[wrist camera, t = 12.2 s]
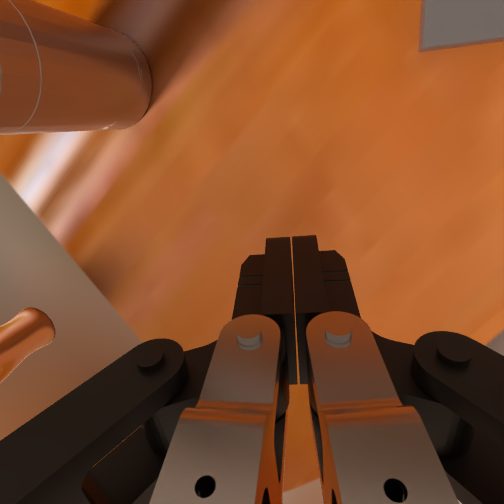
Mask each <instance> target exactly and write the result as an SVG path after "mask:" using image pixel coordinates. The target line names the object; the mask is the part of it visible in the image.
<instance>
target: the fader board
mask: <svg viewBox="0 0 504 504" xmlns="http://www.w3.org/2000/svg"><path fill="white" fill-rule="evenodd" d="M499 41H504V0H422V8H421V26H420V44H419V52H424V51H431V50H439V49H446V48H454V47H461V46H469V45H477V44H484V43H492V42H499Z"/></svg>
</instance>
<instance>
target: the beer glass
mask: <svg viewBox="0 0 504 504" xmlns="http://www.w3.org/2000/svg"><path fill="white" fill-rule="evenodd" d="M54 337H55V328H54V325H53V323H52V321H51V319H50V318H49V317H48V316H47V315H46V314H45V313H44V312H42V311H40V310H39V309H36V308H26V309H24V310H22V311H21V312H20V313H19V314H18V315H16V316H15V317H14V318H13V319H12V320H10V321H9V322H7V323H6V324H4V325H2V326H0V383H1V382H2V381H3V380H4V379H5V378H6V377H7V376H8V375H9V374H10V373H11V372H12V371H13V370H14V369H15V368H16V367H17V366H18V365H19V363H21V362H22V361H23V360H24V359H25V358H26V357H27V356H28V355H29V354H31V353H32V352H34V351H35V350H37V349H39V348H41V347H43V346H46V345H48V344H49V343H51V342H52V341H53V340H54Z"/></svg>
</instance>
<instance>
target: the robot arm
mask: <svg viewBox="0 0 504 504" xmlns="http://www.w3.org/2000/svg"><path fill="white" fill-rule="evenodd" d="M151 92H152V79H151V73H150V69H149V65H148V63H147V61H146V58H145V56H144V54H143V53H142V51H141V50H140V48H139V47H138V46H137V45H136V44H135V43H134V42H133V41H132V40H131V39H130V38H128V37H127V36H125V35H124V34H122V33H119V32H116V31H114V30H111V29H108V28H106V27H103V26H100V25H98V24H95V23H93V22H90V21H87V20H84V19H82V18H79V17H76V16H73V15H71V14H68V13H65V12H62V11H60V10H57V9H54V8H51V7H49V6H46V5H43V4H40V3H38V2H35V1H32V0H0V135H7V134H28V133H49V132H69V131H90V130H113V129H124V128H127V127H130V126H132V125H134V124H135V123H136V122H138V121H139V120H140V119H141V117H142V116H143V115H144V114H145V112H146V110H147V108H148V106H149V102H150V99H151ZM292 246H293V268H294V289H295V311H296V327H297V343H298V359H299V374H300V384H308V391H309V406H310V418H311V425H312V431H313V438H314V444H315V450H316V457H317V463H318V470H319V476H320V482H321V489H322V496H323V504H459V502H458V500H459V501H460V502H461V503H462V504H504V356H502V355H501V354H499V353H497V352H495V351H493V350H492V349H490V348H488V347H486V346H484V345H482V344H481V343H479V342H477V341H475V340H473V339H471V338H469V337H467V336H464V335H461V334H458V333H454V332H448V331H435V332H430V333H427V334H424V335H423V336H421V337H420V338H419V339H418V340H417V341H416V343H415V345H411V344H406V343H402V342H397V341H393V340H389V339H386V338H383V337H381V336H379V335H377V334H375V333H374V332H372V331H371V329H370V327H369V326H368V324H367V323H366V322H365V321H364V320H362V319H361V317H360V313H359V309H358V306H357V302H356V299H355V295H354V291H353V288H352V284H351V282H350V277H349V273H348V269H347V266H346V262H345V259H344V258H343V257H342V256H341V255H340V254H338V253H337V252H336V251H335V250H331V251H319V250H318V244H317V238H316V235H310V236H294V237H292ZM289 384H297V361H296V338H295V314H294V291H293V275H292V259H291V244H290V237H279V238H266V247H265V254H262V255H250V256H249V257H248V258H247V259H246V260H245V262H244V263H243V264H242V265H241V271H240V278H239V282H238V288H237V293H236V299H235V305H234V310H233V316H232V320H231V321H230V322H228V323H227V324H226V325H225V326H224V327H223V328H222V330H221V332H220V334H219V337H218V340H216V341H214V342H213V343H210V344H208V345H206V346H203V347H199V348H196V349H192V350H188V351H185V352H183V349H182V347H181V346H180V345H179V344H178V343H177V342H175V341H173V340H170V339H153V340H149V341H146V342H144V343H142V344H140V345H138V346H136V347H135V348H133V349H132V350H130V351H129V352H127V353H126V354H124V355H123V356H122V357H120V358H119V359H117V360H116V361H115V362H113V363H112V364H110V365H109V366H107V367H106V368H104V369H103V370H101V371H100V372H99V373H97V374H96V375H94V376H93V377H91V378H90V379H89V380H87V381H86V382H84V383H83V384H81V385H80V386H78V387H77V388H76V389H74V390H73V391H71V392H70V393H69V394H67V395H66V396H64V397H63V398H61V399H60V400H58V401H57V402H55V403H54V404H53V405H51V406H50V407H48V408H47V409H45V410H44V411H42V412H41V413H40V414H38V415H37V416H35V417H34V418H32V419H31V420H30V421H28V422H27V423H25V424H24V425H22V426H21V427H19V428H18V429H17V430H15V431H14V432H12V433H11V434H10V435H8V436H7V437H5V438H4V439H2V440H1V441H0V504H282V499H283V497H282V496H283V479H284V464H285V450H286V436H287V422H288V405H289ZM138 427H139V428H138ZM137 428H138V429H137ZM136 429H137V430H136ZM135 430H136V431H135ZM134 431H135V432H134ZM131 433H132V434H131ZM130 434H131V435H130ZM129 435H130V436H129ZM128 436H129V437H128ZM127 437H128V438H127ZM124 439H125V440H124ZM123 440H124V441H123ZM122 441H123V442H122ZM121 442H122V443H121ZM120 443H121V444H120ZM118 444H119V445H118ZM117 445H118V446H117ZM116 446H117V447H116ZM115 447H116V448H115ZM114 448H115V449H114ZM113 449H114V450H113ZM111 450H112V451H111ZM110 451H111V452H110ZM109 452H110V453H109ZM108 453H109V454H108ZM107 454H108V455H107ZM106 455H107V456H106ZM104 456H105V457H104ZM103 457H104V458H103ZM102 458H103V459H102ZM101 459H102V460H101ZM100 460H101V461H100ZM99 461H100V462H99ZM97 462H98V463H97ZM96 463H97V464H96ZM95 464H96V465H95ZM94 465H95V466H94ZM93 466H94V467H93ZM92 467H93V468H92ZM457 499H458V500H457Z"/></svg>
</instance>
